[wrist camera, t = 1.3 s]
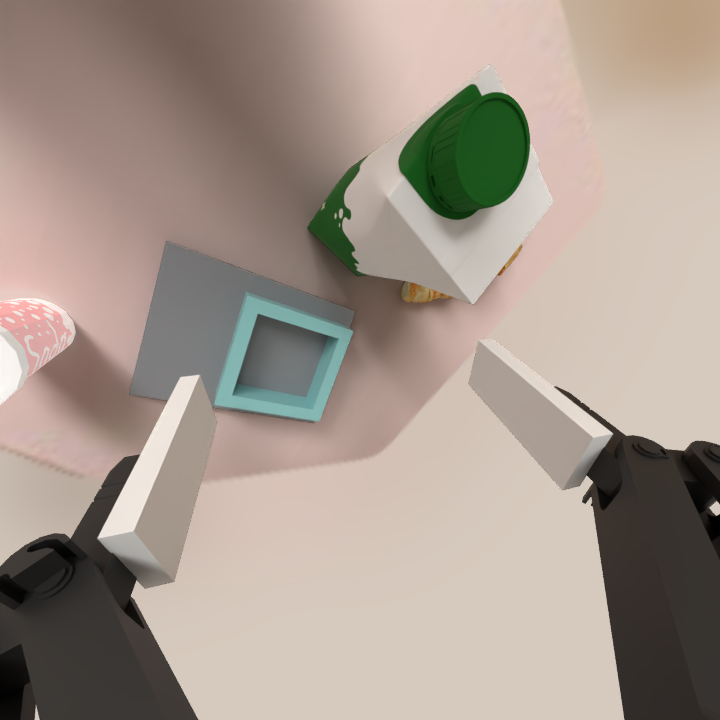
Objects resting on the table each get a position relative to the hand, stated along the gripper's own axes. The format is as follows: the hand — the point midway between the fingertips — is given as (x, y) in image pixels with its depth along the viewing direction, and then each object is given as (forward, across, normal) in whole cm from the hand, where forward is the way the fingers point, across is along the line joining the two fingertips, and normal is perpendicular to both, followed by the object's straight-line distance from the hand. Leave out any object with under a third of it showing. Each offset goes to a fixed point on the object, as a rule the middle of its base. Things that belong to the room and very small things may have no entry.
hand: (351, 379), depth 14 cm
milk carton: (+21, +4, +4) cm, 22 cm away
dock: (+17, -7, -6) cm, 20 cm away
